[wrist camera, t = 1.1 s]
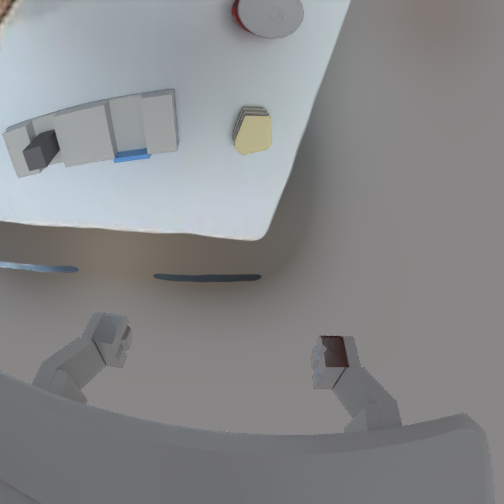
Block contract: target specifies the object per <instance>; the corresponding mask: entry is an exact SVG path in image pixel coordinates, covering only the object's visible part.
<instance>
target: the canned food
mask: <svg viewBox="0 0 504 504" xmlns="http://www.w3.org/2000/svg"><path fill="white" fill-rule="evenodd" d="M232 14H233V18H234V20H235V21H236V23H237V24H238V25H239V26H240V27H241V28H243V29H244V30H246V31H248V32H250V33H253V34H255V35H257V36H260V37H264V38H273V39H274V38H282V37H285V36H288V35H290V34H292V33H293V32H294V31H296V30H297V29H298V27H299V26H300V24H301V23H302V20H303V14H304V11H303V6H302V4H301V1H300V0H235V2H234V4H233V7H232Z"/></svg>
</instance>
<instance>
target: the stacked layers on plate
mask: <svg viewBox="0 0 504 504" xmlns="http://www.w3.org/2000/svg"><path fill="white" fill-rule="evenodd" d="M233 141H234V146H235V149H236V150H237V151H238V152H240V153H241V154H242V155H246V154H250V153H254V152H259V151H263V150H266V149H268V148H269V147H270V146H271V143H272V135H271V117H270V116H269V113H267V110H266V109H263V108H243V109H242V112H241V114H240V117H239V119H238V122H237V124H236V127H235V129H234V132H233Z"/></svg>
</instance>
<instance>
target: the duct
mask: <svg viewBox="0 0 504 504" xmlns="http://www.w3.org/2000/svg"><path fill="white" fill-rule="evenodd" d="M53 129H55V132H56V136H57V140H58V143H59V147H60V151H59V152H58V153H57V154H56V156H55V157H54V158H53V160H52V161H51V162H50V164H49V165H52V164H56V163H61V162H64V163H65V167H70V166H75V165H80V164H85V163H91V162H97V161H103V160H109V159H114V162H115V163H116V162H123V161H131V160H138V159H147V158H150V156H151V154H153V153H163V152H172V151H177V149H178V144H179V140H178V129H177V118H176V106H175V93H174V89H170V90H161V91H154V92H146V93H140V94H133V95H127V96H121V97H116V98H111V99H106V100H101V101H96V102H92V103H87V104H83V105H79V106H75V107H71V108H67V109H63V110H60V111H56V112H53V113H49V114H46V115H43V116H40V117H36V118H33V119H30V120H27V121H24V122H22V123H19V124H16V125H13V126H10V127H8V128H7V129H6V131H5V132H4V133H3V137H4V140H5V143H6V146H7V149H8V152H9V155H10V158H11V161H12V163H13V166H14V169H15V171H16V174H17V177H18V178H21V177H25V176H29V175H33V174H37V173H41V171H42V170H43V169H44V168H41V169H37V170H32V171H29V169H28V166H27V164H26V161H25V158H24V155H23V152H22V151H23V150H24V149H25V148H26V147H27V146H28V145H29V144H30V143H31V142H32V141H33V140H34V139H35V137H36V136H37V135H38V134H39V133H42V132H46V131H49V130H53Z"/></svg>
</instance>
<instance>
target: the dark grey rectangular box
mask: <svg viewBox="0 0 504 504" xmlns="http://www.w3.org/2000/svg"><path fill="white" fill-rule="evenodd" d="M59 151H60V147H59V143H58V140H57V136H56V132H55V129H53V130H49V131H46V132H42V133H39V134H38V135H37V136H36V137H35V139H34V140H33V141H32V142H31V143H30V144H29V145H28V146H27V147H26V148H25V149H24V150H23V151H22V152H23V155H24V158H25V161H26V164H27V166H28V169H29V171H32V170H37V169H41V168H45V167H47V166H48V165H49V164H50V162H51V161H52V160H53V158H54V157H55V156H56V154H57V153H58V152H59Z"/></svg>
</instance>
